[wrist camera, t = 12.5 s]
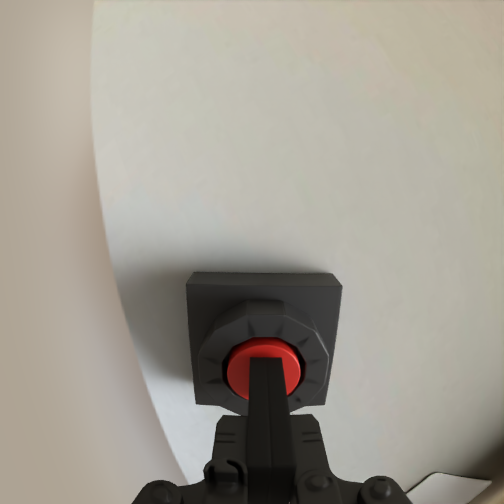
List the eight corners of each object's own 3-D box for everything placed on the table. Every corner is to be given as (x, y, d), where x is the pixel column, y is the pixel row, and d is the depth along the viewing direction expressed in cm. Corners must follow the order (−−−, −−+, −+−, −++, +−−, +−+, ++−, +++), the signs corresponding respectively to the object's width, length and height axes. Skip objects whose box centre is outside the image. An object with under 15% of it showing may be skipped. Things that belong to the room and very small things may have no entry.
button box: (193, 271, 18) (177, 296, 14) (332, 273, 18) (353, 299, 14) (200, 384, 19) (191, 423, 16) (319, 385, 19) (330, 424, 16)
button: (228, 327, 16) (226, 344, 14) (298, 328, 16) (303, 344, 14) (230, 382, 16) (227, 402, 15) (293, 383, 16) (297, 402, 15)
